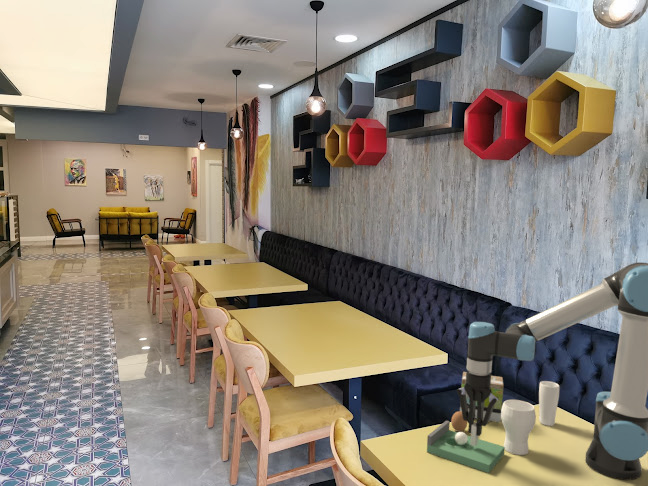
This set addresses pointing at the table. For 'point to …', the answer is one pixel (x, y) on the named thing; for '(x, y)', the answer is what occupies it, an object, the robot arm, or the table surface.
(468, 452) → the green
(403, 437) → the table surface
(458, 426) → the egg
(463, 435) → the ball
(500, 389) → the tea box
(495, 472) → the table surface
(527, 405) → the cup
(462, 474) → the table surface
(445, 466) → the table surface
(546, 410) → the drinking glass
